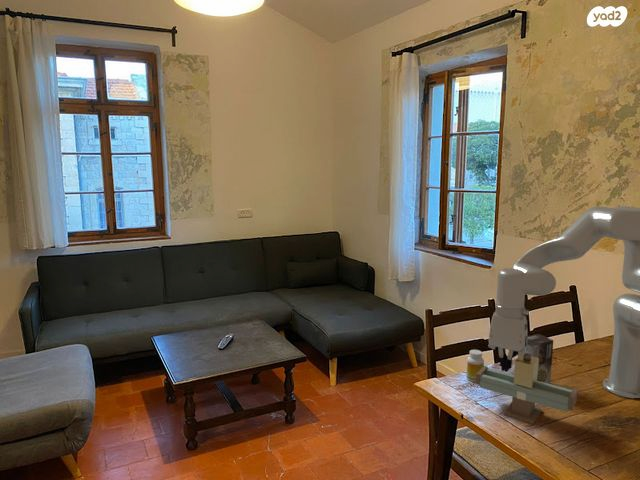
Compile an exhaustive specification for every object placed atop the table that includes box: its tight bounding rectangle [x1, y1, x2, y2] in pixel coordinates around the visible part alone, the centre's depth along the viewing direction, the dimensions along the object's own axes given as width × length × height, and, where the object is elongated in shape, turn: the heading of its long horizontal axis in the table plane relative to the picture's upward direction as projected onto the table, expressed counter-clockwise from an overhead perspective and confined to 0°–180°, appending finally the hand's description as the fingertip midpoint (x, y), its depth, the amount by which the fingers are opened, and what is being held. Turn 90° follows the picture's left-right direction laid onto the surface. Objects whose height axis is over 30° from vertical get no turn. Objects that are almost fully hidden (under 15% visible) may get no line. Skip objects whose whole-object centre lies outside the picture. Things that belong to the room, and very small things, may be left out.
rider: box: [513, 353, 539, 388], centre depth 140 cm, size 5×6×10 cm
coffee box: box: [517, 333, 554, 384], centre depth 158 cm, size 9×6×16 cm
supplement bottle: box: [466, 349, 485, 383], centre depth 163 cm, size 5×5×10 cm
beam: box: [475, 365, 579, 425], centre depth 142 cm, size 26×9×10 cm, turn 53°
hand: (505, 369), depth 144 cm, fingers closed
